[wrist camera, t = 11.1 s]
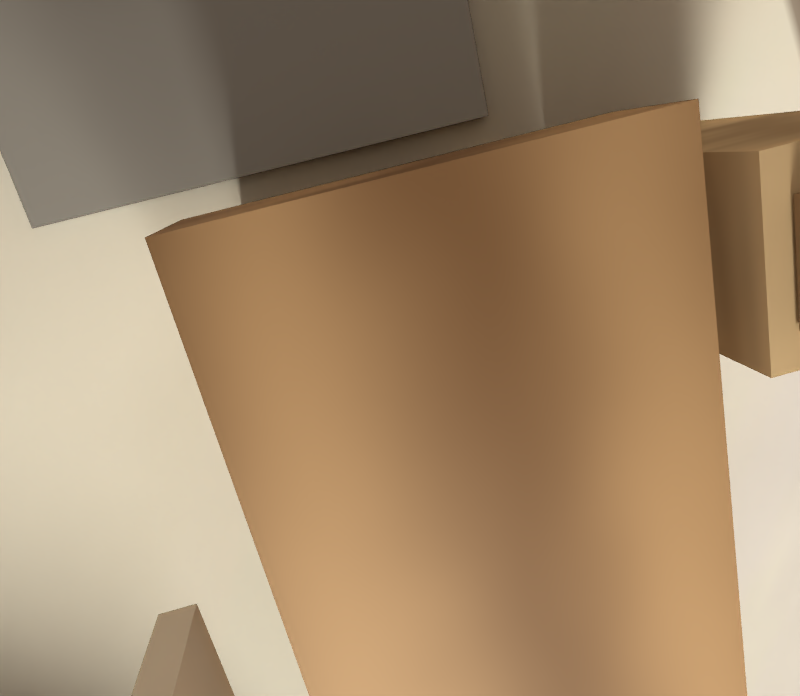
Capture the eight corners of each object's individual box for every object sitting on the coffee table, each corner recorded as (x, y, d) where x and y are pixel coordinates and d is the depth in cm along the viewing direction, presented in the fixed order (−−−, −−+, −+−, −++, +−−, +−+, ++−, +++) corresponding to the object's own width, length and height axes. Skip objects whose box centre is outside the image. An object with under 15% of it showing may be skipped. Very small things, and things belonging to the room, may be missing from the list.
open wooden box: (376, 646, 23) (442, 1111, 12) (242, 210, 18) (137, 293, 7) (712, 545, 24) (1075, 890, 13) (671, 102, 19) (1200, 21, 8)
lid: (385, 822, 18) (400, 949, 15) (181, 219, 13) (144, 237, 10) (688, 725, 18) (758, 830, 16) (613, 111, 13) (698, 98, 10)
